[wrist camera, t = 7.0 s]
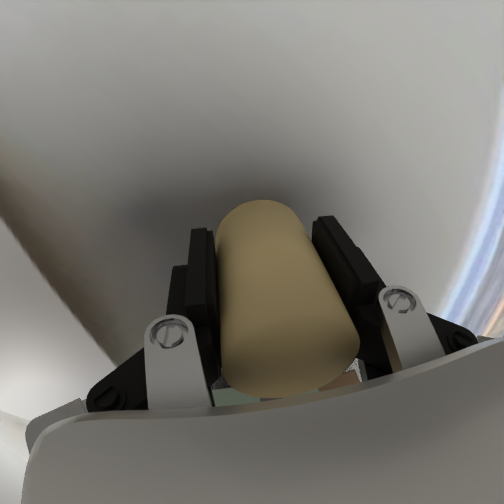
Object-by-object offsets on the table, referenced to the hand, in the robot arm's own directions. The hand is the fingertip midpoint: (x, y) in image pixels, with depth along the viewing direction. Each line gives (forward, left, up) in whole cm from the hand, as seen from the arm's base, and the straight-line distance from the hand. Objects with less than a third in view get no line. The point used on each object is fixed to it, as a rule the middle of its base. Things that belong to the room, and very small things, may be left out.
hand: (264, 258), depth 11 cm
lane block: (-8, 0, -2) cm, 8 cm away
